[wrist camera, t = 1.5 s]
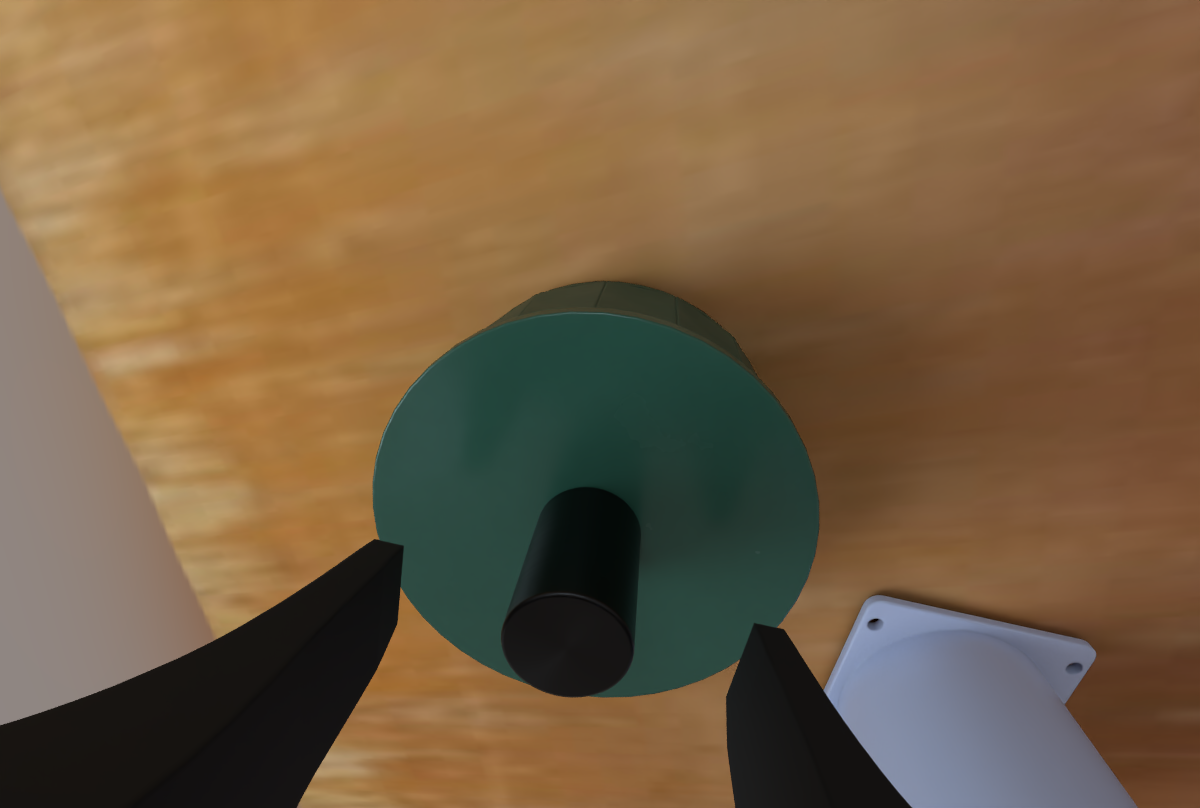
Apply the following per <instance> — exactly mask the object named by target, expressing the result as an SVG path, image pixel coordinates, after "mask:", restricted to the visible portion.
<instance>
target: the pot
mask: <svg viewBox="0 0 1200 808" xmlns="http://www.w3.org/2000/svg"><path fill="white" fill-rule="evenodd" d="M569 307H592V308H610V309H617V310H624V311H630V312H637V313H641V314H645V315H648V316H652V317H655V318H659V319H662V320H666V321H669V322H672V323H674V324H676V325H679V326H681V327H683V328H686V329H688V330H690V331H692V332H695V333H697V334H699V335H701V336H703V337H705V338H706V339H708V340H710V341H711V342H713V343H715V344H716V345H718V346H720V347H721V348H723V349H725V350H726V351H728V352H729V353H730V354H732V355H733V356H734V357H735V358H737V359H738V360H739V361H740V362H742V363H743V364H744V365H745V366H747V367H748V368H749V369H750V370H752V371H753V372H754V373H755V371H754V370H753V368H752V366H751V364H750V362H749V360H748V358H747V357H746V356H745V354H744V353H743V351H742V350H741V348H740V347H739V345H738V343H737V342H736V340H735V338H734V337H733V336H732V335H731V334H730V333H729V332H727V331H726V330H724V329H723V328H722V327H721V326H720V325H719V324H718V323H716V322H715V321H714V320H713V319H711V318H710V317H709V316H708V315H707V314H705V313H704V312H703V311H701V310H699V309H698V308H696V307H694V306H693V305H691V304H689V303H688V302H686V301H684V300H682V299H680V298H678V297H675V296H674V295H670V294H668V293H666V292H664V291H660V290H657V289H653V288H650V287H646V286H643V285H637V284H630V283H624V282H610V281H607V282H606V281H595V282H586V283H578V284H571V285H567V286H564V287H560V288H556V289H552V290H549V291H546V292H541V293H539V294H536V295H534V296H533V297H531V298H530V299H528V300H527V301H525V302H523V303H522V304H520V305H518V306H516V307H515V308H513V309H512V310H510V311H509V312H508V313H507V314H505V315H504V316H503V317H501V318H500V319H498V320H497V321H495V322H494V323H492V324H491V325H489V326H488V327H490V326H492V325H495V324H497V323H500V322H502V321H505V320H507V319H510V318H513V317H517V316H521V315H525V314H529V313H533V312H537V311H542V310H551V309H560V308H569ZM486 328H487V327H486ZM755 374H756V373H755ZM756 376H757V374H756ZM757 377H758V376H757Z"/></svg>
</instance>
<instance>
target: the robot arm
mask: <svg viewBox="0 0 1200 808" xmlns="http://www.w3.org/2000/svg"><path fill="white" fill-rule="evenodd" d="M403 552H404V546H403V545H399V544H394V543H390V542H385V541H381V540H376V539H374V540H373V541H371V542H369V543H368V544H366V545H365V546H363V547H362V548H360V549H359V550H358V551H356V552H355V553H353V554H352V555H350V556H349V557H348V558H346V559H345V560H343V561H342V562H340V563H339V564H338V565H336V566H335V567H333V568H332V569H330V570H329V571H328V572H326V573H325V574H323V575H322V576H320V577H319V578H317V579H316V580H314V581H313V582H311V583H310V584H308V585H307V586H305V587H304V588H302V589H301V590H299V591H298V592H296V593H295V594H293V595H291V596H290V597H288V598H287V599H285V600H284V601H282V602H280V603H279V604H277V605H276V606H274V607H272V608H271V609H269V610H267V611H265V612H264V613H262V614H260V615H259V616H257V617H255V618H254V619H252V620H250V621H249V622H247V623H245V624H244V625H242V626H240V627H238V628H237V629H235V630H233V631H231V632H229V633H227V634H226V635H224V636H222V637H220V638H218V639H216V640H214V641H213V642H211V643H209V644H207V645H205V646H203V647H201V648H198V649H196V650H194V651H193V652H190V653H188V654H187V655H184V656H182V657H180V658H178V659H176V660H174V661H171V662H169V663H166V664H164V665H162V666H159V667H157V668H155V669H153V670H150V671H148V672H146V673H143V674H141V675H139V676H136V677H134V678H132V679H129V680H127V681H125V682H122V683H120V684H118V685H115V686H113V687H110V688H108V689H105V690H102V691H99V692H97V693H94V694H92V695H89V696H86V697H84V698H81V699H78V700H75V701H73V702H70V703H67V704H64V705H61V706H58V707H56V708H53V709H50V710H47V711H44V712H41V713H38V714H35V715H32V716H29V717H26V718H23V719H20V720H17V721H13V722H10V723H7V724H3V725H0V808H297V806H298V804H299V802H300V800H301V798H302V796H303V794H304V792H305V791H306V789H307V787H308V785H309V783H310V781H311V780H312V778H313V776H314V774H315V773H316V771H317V769H318V768H319V766H320V764H321V763H322V761H323V759H324V758H325V756H326V754H327V753H328V751H329V749H330V748H331V746H332V744H333V743H334V741H335V739H336V738H337V736H338V734H339V733H340V731H341V729H342V728H343V726H344V724H345V723H346V721H347V719H348V718H349V716H350V714H351V713H352V711H353V709H354V708H355V706H356V704H357V702H358V701H359V699H360V697H361V696H362V694H363V692H364V691H365V689H366V687H367V686H368V684H369V682H370V680H371V679H372V677H373V675H374V674H375V672H376V670H377V668H378V666H379V664H380V661H381V659H382V657H383V655H384V653H385V651H386V648H387V646H388V644H389V641H390V639H391V637H392V635H393V632H394V630H395V628H396V625H397V621H398V610H399V598H400V587H401V575H402V563H403ZM872 619H878V621H876V622H873V623H871V622H869V621H870V620H872ZM1095 658H1096V651H1095V650H1094V649H1093V648H1092V647H1091V645H1090V644H1089V643H1088V642H1087V641H1085V640H1082V639H1078V638H1073V637H1069V636H1064V635H1060V634H1055V633H1051V632H1046V631H1041V630H1037V629H1032V628H1028V627H1023V626H1019V625H1014V624H1010V623H1005V622H1001V621H996V620H992V619H987V618H983V617H978V616H974V615H969V614H965V613H960V612H956V611H951V610H946V609H942V608H937V607H933V606H928V605H924V604H919V603H915V602H910V601H906V600H901V599H897V598H892V597H888V596H883V595H875V596H871V597H870V598H868V599H867V600H866V601H865V602H864V604H863V606H862V608H861V610H860V612H859V614H858V617H857V619H856V621H855V623H854V625H853V628H852V630H851V632H850V634H849V636H848V638H847V641H846V643H845V645H844V647H843V649H842V651H841V654H840V656H839V658H838V660H837V662H836V665H835V667H834V669H833V671H832V673H831V675H830V678H829V680H828V682H827V684H826V686H825V689H824V691H823V689H822V688H821V686H820V685H819V683H818V681H817V680H816V678H815V677H814V675H813V674H812V672H811V671H810V669H809V668H808V666H807V664H806V663H805V661H804V660H803V658H802V657H801V655H800V653H799V652H798V650H797V649H796V647H795V646H794V644H793V642H792V641H791V639H790V638H789V636H788V635H787V633H786V632H785V630H784V629H780V628H775V627H771V626H766V625H762V624H757V623H754V625H753V627H752V630H751V632H750V635H749V638H748V640H747V643H746V646H745V648H744V651H743V654H742V656H741V659H740V662H739V664H738V667H737V670H736V672H735V675H734V677H733V680H732V683H731V685H730V688H729V691H728V693H727V696H726V717H727V750H728V757H729V765H730V772H731V780H732V787H733V794H734V801H735V808H1138V807H1137V805H1136V804H1135V803H1134V801H1133V800H1132V798H1131V797H1130V796H1129V794H1128V793H1127V791H1126V790H1125V789H1124V787H1123V786H1122V784H1121V783H1120V782H1119V780H1118V779H1117V777H1116V776H1115V775H1114V773H1113V772H1112V770H1111V769H1110V768H1109V766H1108V765H1107V764H1106V762H1105V761H1104V759H1103V758H1102V757H1101V755H1100V754H1099V752H1098V751H1097V750H1096V748H1095V747H1094V745H1093V744H1092V743H1091V741H1090V740H1089V738H1088V737H1087V736H1086V734H1085V733H1084V731H1083V730H1082V729H1081V727H1080V726H1079V725H1078V723H1077V722H1076V720H1075V719H1074V718H1073V716H1072V715H1071V713H1070V712H1069V711H1068V709H1067V708H1066V706H1065V703H1066V702H1067V700H1068V699H1069V697H1070V696H1071V694H1072V693H1073V691H1074V690H1075V688H1076V687H1077V685H1078V684H1079V682H1080V681H1081V679H1082V678H1083V677H1084V675H1085V674H1086V672H1087V671H1088V669H1089V668H1090V666H1091V665H1092V663H1093V662H1094V660H1095ZM1071 663H1073V664H1071ZM1069 664H1071V665H1069Z"/></svg>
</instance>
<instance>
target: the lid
mask: <svg viewBox="0 0 1200 808" xmlns="http://www.w3.org/2000/svg"><path fill="white" fill-rule="evenodd" d="M373 510H374V516H375V522H376V528H377V533H378V536H379V540H381V541H385V542H390V543H394V544H399V545H403V546H404V552H403V563H402V575H401V588H402V590H403V591H404V593H405V595H406V596H407V598H408V599H409V600H410V602H411V603H412V604H413V605H414V607H415V608H416V609H417V610H418V612H419V613H420V614H421V615H422V617H423V618H424V619H425V620H426V621H427V622H428V623H429V624H430V625H431V626H432V627H433V628H434V629H436V630H437V631H438V632H439V633H440V634H441V635H442V636H443V637H444V638H446V639H447V640H448V641H449V642H451V643H452V644H453V645H454V646H456V647H457V648H458V649H459V650H461V651H462V652H464V653H465V654H467V655H469V656H470V657H472V658H473V659H475V660H476V661H478V662H480V663H481V664H483V665H485V666H487V667H489V668H491V669H493V670H495V671H497V672H499V673H501V674H503V675H505V676H508V677H510V678H513V679H516V680H518V681H521V682H523V683H526V684H529V685H531V686H533V687H535V688H537V689H539V690H541V691H543V692H546V693H549V694H553V695H556V696H562V697H586V696H591V697H632V696H640V695H648V694H655V693H660V692H664V691H668V690H672V689H677V688H680V687H683V686H686V685H689V684H692V683H695V682H698V681H700V680H703V679H705V678H707V677H709V676H711V675H713V674H716V673H718V672H720V671H722V670H724V669H726V668H727V667H729V666H731V665H732V664H734V663H735V662H737V661H738V660H740V659H741V656H742V654H743V651H744V648H745V646H746V643H747V640H748V638H749V635H750V632H751V630H752V627H753V625H754V623H757V624H762V625H766V626H771V627H775V628H777V626H778V625H779V624H780V623H781V622H782V621H783V620H784V618H785V617H786V615H787V614H788V612H789V611H790V609H791V608H792V607H793V605H794V604H795V602H796V601H797V599H798V597H799V595H800V593H801V591H802V589H803V587H804V585H805V583H806V581H807V578H808V575H809V572H810V569H811V566H812V563H813V560H814V557H815V553H816V547H817V540H818V534H819V498H818V492H817V486H816V480H815V475H814V472H813V469H812V466H811V462H810V459H809V456H808V453H807V450H806V448H805V446H804V444H803V442H802V440H801V438H800V436H799V434H798V432H797V430H796V428H795V426H794V424H793V422H792V420H791V418H790V416H789V415H788V413H787V412H786V411H785V409H784V408H783V406H782V405H781V403H780V402H779V401H778V399H777V398H776V396H775V395H774V394H773V392H772V391H771V390H770V389H769V388H768V387H767V386H766V385H765V384H764V383H763V382H762V381H761V380H760V379H759V378H758V377H757V376H756V374H755V373H754V372H753V371H752V370H750V369H749V368H748V367H747V366H745V365H744V364H743V363H742V362H740V361H739V360H738V359H737V358H735V357H734V356H733V355H732V354H730V353H729V352H728V351H726V350H725V349H723V348H721V347H720V346H718V345H716V344H715V343H713V342H711V341H710V340H708V339H706V338H705V337H703V336H701V335H699V334H697V333H695V332H692V331H690V330H688V329H686V328H683V327H681V326H679V325H676V324H674V323H672V322H669V321H666V320H662V319H659V318H655V317H652V316H648V315H645V314H641V313H637V312H630V311H624V310H617V309H610V308H592V307H569V308H560V309H551V310H542V311H537V312H533V313H529V314H525V315H521V316H517V317H513V318H510V319H507V320H505V321H502V322H500V323H497V324H495V325H492V326H490V327H487V328H485V329H482V330H480V331H479V332H477V333H475V334H473V335H472V336H470V337H468V338H466V339H465V340H463V341H461V342H459V343H458V344H456V345H455V346H454V347H452V348H451V349H450V350H449V351H447V352H446V353H445V354H443V355H442V356H441V357H440V358H438V359H437V360H436V361H435V362H433V363H432V364H431V365H430V366H429V367H428V368H427V369H426V370H425V371H424V373H423V374H422V375H421V376H420V377H419V378H418V379H417V380H416V381H415V382H414V383H413V384H412V385H411V386H410V388H409V389H408V390H407V392H406V393H405V395H404V396H403V398H402V399H401V401H400V402H399V404H398V405H397V406H396V408H395V410H394V412H393V414H392V416H391V418H390V420H389V422H388V424H387V426H386V428H385V430H384V432H383V436H382V439H381V442H380V446H379V449H378V452H377V456H376V462H375V469H374V476H373Z"/></svg>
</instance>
